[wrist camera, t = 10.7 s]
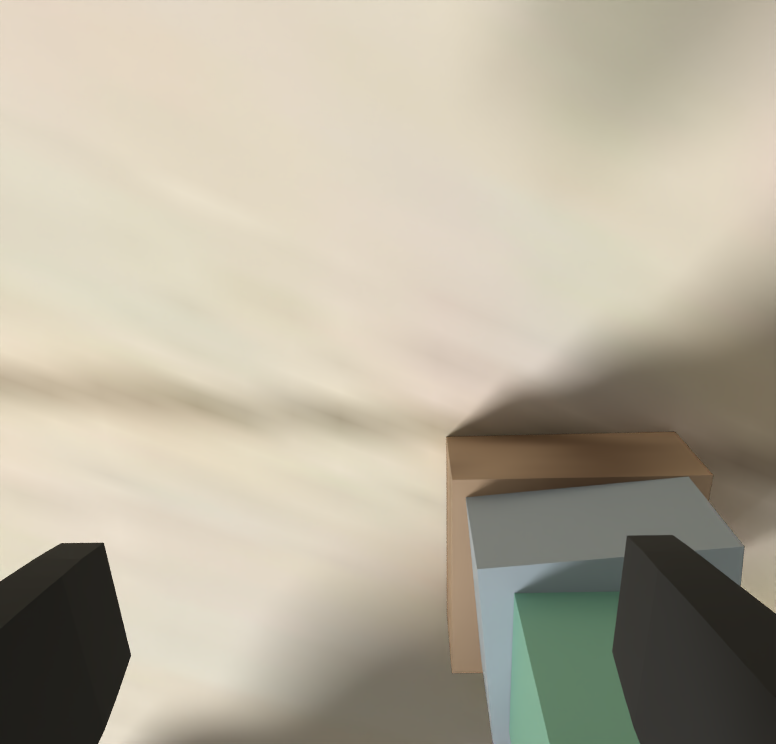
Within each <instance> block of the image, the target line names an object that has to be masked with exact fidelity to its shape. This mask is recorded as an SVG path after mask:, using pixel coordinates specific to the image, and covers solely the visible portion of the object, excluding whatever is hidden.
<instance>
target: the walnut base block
mask: <svg viewBox="0 0 776 744" xmlns="http://www.w3.org/2000/svg"><path fill="white" fill-rule="evenodd" d="M446 456H447V621H448V633H449V645H450V656H451V668H452V673H483V670H482V662H481V652H480V642H479V632H478V621H477V611H476V600H475V590H474V579H473V569H472V558H471V548H470V538H469V527H468V517H467V506H466V497H474V496H485V495H495V494H506V493H517V492H528V491H538V490H549V489H560V488H570V487H581V486H592V485H602V484H613V483H624V482H634V481H645V480H656V479H666V478H677V477H688V476H689V478H690V479H691V480H692V481H693V483H694V484H695V485H696V486H697V488H698V489H699V490H700V491H701V493H702V494H703V495H704V496H705V498H706V499H707V500H708V501H709V496H710V490H711V485H712V479H713V474H712V473H711V472H710V471H709V470H708V469H707V468H706V466H705V465H704V464H703V463H702V462H701V461H700V460H699V458H698V457H697V456H696V455H695V454H694V453H693V452H692V450H691V449H690V448H689V447H688V446H687V445H686V444H685V442H684V441H683V440H682V439H681V438H680V437H679V436H678V434H677V433H676V432H638V433H592V434H545V435H499V436H452V437H446Z"/></svg>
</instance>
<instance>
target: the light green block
mask: <svg viewBox="0 0 776 744" xmlns="http://www.w3.org/2000/svg"><path fill="white" fill-rule="evenodd" d="M619 593H620V591H619V592H557V593H514V612H513V640H512V667H511V695H510V722H509V735H510V740H511V744H640V743H639V740H638V737H637V735H636V732H635V730H634V727H633V724H632V720H631V717H630V714H629V710H628V707H627V704H626V700H625V697H624V694H623V690H622V686H621V683H620V679H619V675H618V672H617V668H616V664H615V661H614V657H613V653H612V648H613V640H614V632H615V625H616V617H617V609H618V601H619Z"/></svg>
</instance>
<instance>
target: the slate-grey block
mask: <svg viewBox="0 0 776 744" xmlns="http://www.w3.org/2000/svg"><path fill="white" fill-rule="evenodd" d="M466 506H467V517H468V527H469V538H470V548H471V558H472V569H473V579H474V590H475V600H476V611H477V621H478V632H479V642H480V652H481V662H482V670H483V677H484V684H485V691H486V698H487V705H488V712H489V720H490V727H491V734H492V741H493V744H511V740H510V735H509V722H510V695H511V667H512V640H513V612H514V593H557V592H619V591H620V586H621V578H622V570H623V562H624V554H625V546H626V539H627V536H629V535H674V536H675V537H676V538H678V539H679V540H681V541H682V542H683V543H685V544H686V545H687V546H689V547H690V548H691V549H693V550H694V551H695V552H697V553H698V554H699V555H701V556H702V557H703V558H705V559H706V560H707V561H708V562H710V563H711V564H712V565H714V566H715V567H716V568H717V569H719V570H720V571H721V572H723V573H724V574H725V575H726V576H728V577H729V578H730V579H731V580H733V581H734V582H735V583H737V584H738V585H739V586H741V576H742V566H743V556H744V545H743V544H742V543H741V542H740V540H739V539H738V538H737V537H736V535H735V534H734V533H733V532H732V530H731V529H730V528H729V527H728V525H727V524H726V523H725V522H724V520H723V519H722V518H721V517H720V515H719V514H718V513H717V512H716V510H715V509H714V508H713V506H712V505H711V504H710V503H709V501H708V500H707V499H706V498H705V496H704V495H703V494H702V493H701V491H700V490H699V489H698V488H697V486H696V485H695V484H694V483H693V481H692V480H691V479H690V478H689V476H688V477H677V478H666V479H656V480H645V481H634V482H624V483H613V484H602V485H592V486H581V487H570V488H560V489H549V490H538V491H528V492H517V493H506V494H495V495H485V496H474V497H466Z"/></svg>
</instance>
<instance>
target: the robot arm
mask: <svg viewBox="0 0 776 744" xmlns="http://www.w3.org/2000/svg"><path fill="white" fill-rule="evenodd" d="M612 653H613V657H614V661H615V664H616V668H617V672H618V675H619V679H620V683H621V686H622V690H623V694H624V697H625V700H626V704H627V707H628V710H629V714H630V717H631V720H632V724H633V727H634V730H635V732H636V735H637V737H638V740H639V743H640V744H776V614H775V613H774V612H773V611H771V610H770V609H769V608H768V607H766V606H765V605H764V604H762V603H761V602H760V601H758V600H757V599H756V598H755V597H753V596H752V595H751V594H749V593H748V592H747V591H746V590H744V589H743V588H742V587H740V586H739V585H738V584H737V583H735V582H734V581H733V580H731V579H730V578H729V577H728V576H726V575H725V574H724V573H723V572H721V571H720V570H719V569H717V568H716V567H715V566H714V565H712V564H711V563H710V562H708V561H707V560H706V559H705V558H703V557H702V556H701V555H699V554H698V553H697V552H695V551H694V550H693V549H691V548H690V547H689V546H687V545H686V544H685V543H683V542H682V541H681V540H679V539H678V538H676V537H675V536H674V535H629V536H627V539H626V546H625V554H624V562H623V570H622V578H621V586H620V593H619V601H618V609H617V617H616V625H615V632H614V640H613V648H612ZM130 657H131V653H130V649H129V645H128V641H127V637H126V633H125V629H124V624H123V620H122V616H121V612H120V608H119V604H118V600H117V596H116V591H115V587H114V583H113V579H112V575H111V571H110V567H109V563H108V558H107V554H106V550H105V546H104V543H61V544H59V545H57V546H56V547H54V548H52V549H50V550H49V551H47V552H45V553H44V554H42V555H40V556H39V557H37V558H36V559H34V560H32V561H31V562H29V563H28V564H26V565H25V566H23V567H21V568H20V569H18V570H17V571H15V572H14V573H12V574H11V575H9V576H8V577H6V578H5V579H3V580H2V581H0V744H98V743H99V740H100V738H101V736H102V734H103V732H104V730H105V727H106V725H107V722H108V719H109V717H110V714H111V711H112V709H113V706H114V703H115V701H116V698H117V695H118V692H119V689H120V686H121V683H122V680H123V678H124V675H125V672H126V669H127V666H128V663H129V660H130Z"/></svg>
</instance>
